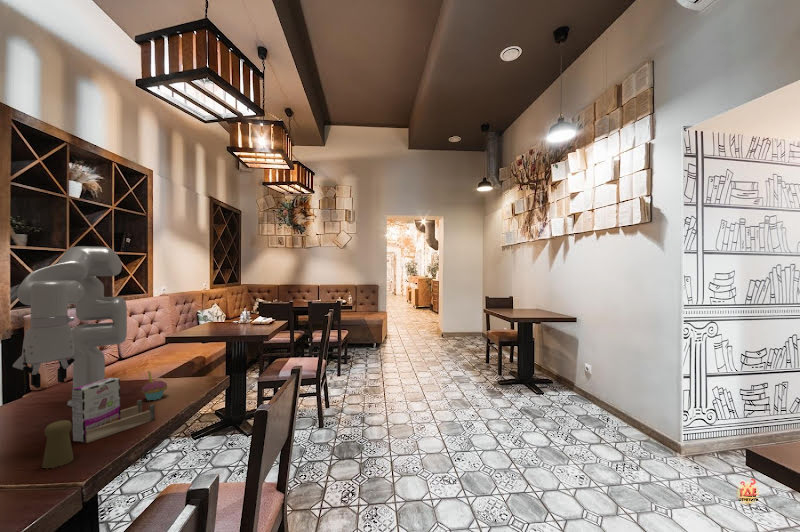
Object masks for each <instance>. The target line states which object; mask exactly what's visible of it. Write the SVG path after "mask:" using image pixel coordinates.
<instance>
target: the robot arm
mask: <svg viewBox="0 0 800 532" xmlns="http://www.w3.org/2000/svg"><path fill="white" fill-rule="evenodd" d="M122 265H123V264H122V260H121V259H120V256H118V254H117V253H116V251H115V250H114V249H112V248H110V247H107V246H87V245H81V246H79V245H78V246H73V247H70V248H68V249H66V250H65V252H64V253H63V255H62V256H61V257H60V258H59V260H58V262H57V263H54V264H51V265H48V266H45V267H42V268H39V269H37V270H34V271H32V272H31V273H29V274H28V275H26V277H25V278H24V279H23V280H22V282H21V283H20V285H19V286H18V289H17V293H16V295H17V299H18V301H19V302H20V303H21V304H22V305H25V306H30V328H28V329H26V330H25V332H24V337H23V343H22V351H21V356H19V357H18V359H16V360H15V362H14V363H13V364H12V367H13V368H15V369H18V370H22V371H25V372H27V373H29V374H30V385H31V386H33V388H35V389H39V388H41V375H42V374H40V372H39V371H40V366H41V364H44V363H50V362H55V361H57V362H58V366H59V367H58V369H57V382H58V383H61V384H63V383H65V380H66V379H67V375H68V373H67V370H68V368H69V367H70V366H71V365H72V389H74V388H78V387H81V386H84V385H87V384H91V383H94V382H97V381H100V380H104V379H106V376H105V375H106V372H105V371H106V368H105V367H106V358H105V354H104V352H103V351H102V350H101V349H99V347H104V346H115V345H121V344H123V343H125V341H126V339H127V336H128V334H127V333H128V324H127V323H128V322H127V321H128V320H127V319H128V316H127V315H128V308H127V302H126V300H125V298H123V297H121V296H105V286H104V283H102V280H100V279H99V278H98V277H115V276H117V275H119V274H120V273H121V272H122V267H123V266H122ZM71 304H75V315H76V318H77V319H78V320H80V321H101V320H103V321H104V320H111V321H112V322H97V323H96V322H95V323H84V324H79V325H77V326H75V327H73V328H72V326H71V325H70V324H69V323H71V322H74V321H75V317H74V316H69V314H68V312H69V311H68V309H69V306H68V305H71ZM24 363H26V364H28V365H25V364H24ZM29 365H30V366H29ZM66 405H67V406H68V407H71V408H72V398H71V399H69V400H68V401H67V404H66Z"/></svg>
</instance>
